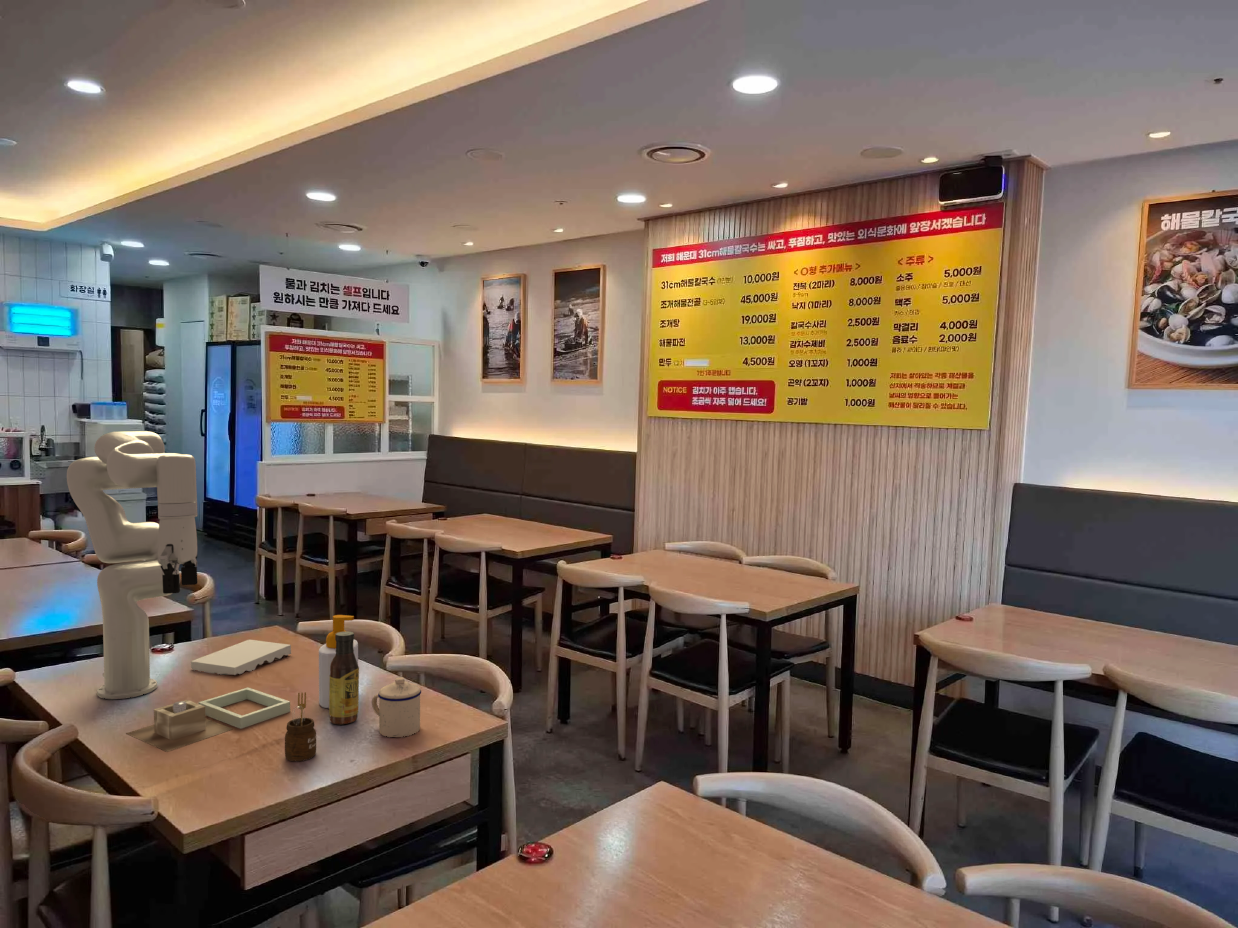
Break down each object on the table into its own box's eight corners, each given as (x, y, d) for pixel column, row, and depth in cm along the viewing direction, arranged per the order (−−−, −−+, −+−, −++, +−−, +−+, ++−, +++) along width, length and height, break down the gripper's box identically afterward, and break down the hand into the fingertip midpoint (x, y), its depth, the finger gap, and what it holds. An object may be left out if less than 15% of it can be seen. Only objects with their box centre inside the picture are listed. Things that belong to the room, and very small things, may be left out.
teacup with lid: (429, 726, 178) (429, 675, 177) (403, 741, 170) (403, 687, 169) (386, 717, 183) (386, 667, 182) (358, 731, 175) (358, 679, 174)
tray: (198, 718, 180) (198, 702, 180) (248, 702, 190) (248, 687, 190) (240, 735, 172) (240, 717, 171) (290, 717, 182) (290, 701, 181)
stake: (171, 731, 169) (170, 703, 169) (182, 727, 171) (182, 700, 171) (177, 734, 168) (177, 706, 168) (188, 730, 170) (188, 702, 170)
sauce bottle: (349, 727, 177) (348, 638, 176) (323, 724, 178) (323, 636, 177) (364, 716, 183) (364, 630, 182) (339, 713, 185) (339, 628, 183)
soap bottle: (345, 709, 187) (345, 623, 186) (310, 708, 188) (310, 623, 186) (365, 689, 201) (365, 609, 199) (332, 689, 201) (332, 609, 199)
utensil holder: (283, 763, 158) (282, 704, 158) (287, 750, 165) (286, 693, 164) (314, 760, 160) (314, 701, 159) (317, 747, 166) (317, 691, 165)
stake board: (125, 740, 168) (125, 733, 168) (191, 719, 180) (191, 712, 180) (167, 759, 160) (167, 751, 159) (233, 735, 171) (233, 728, 171)
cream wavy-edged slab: (235, 680, 208) (291, 656, 227) (234, 667, 208) (290, 644, 227) (191, 673, 213) (249, 650, 232) (190, 661, 213) (249, 639, 232)
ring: (154, 732, 169) (153, 709, 168) (187, 722, 174) (187, 699, 174) (172, 740, 165) (172, 716, 164) (205, 729, 171) (205, 706, 170)
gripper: (175, 507, 183) (178, 582, 184) (141, 515, 166) (144, 597, 167) (210, 506, 184) (213, 580, 185) (180, 514, 167) (183, 595, 168)
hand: (180, 588), depth 176 cm, fingers open, 9 cm apart
